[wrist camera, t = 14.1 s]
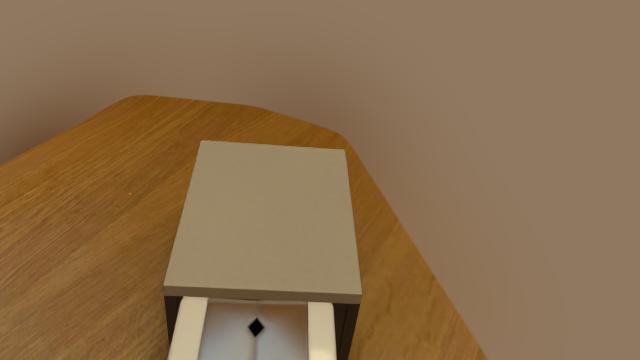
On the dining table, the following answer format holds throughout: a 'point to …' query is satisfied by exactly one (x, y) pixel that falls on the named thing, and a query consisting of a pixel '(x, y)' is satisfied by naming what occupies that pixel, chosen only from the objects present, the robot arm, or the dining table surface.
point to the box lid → (266, 226)
